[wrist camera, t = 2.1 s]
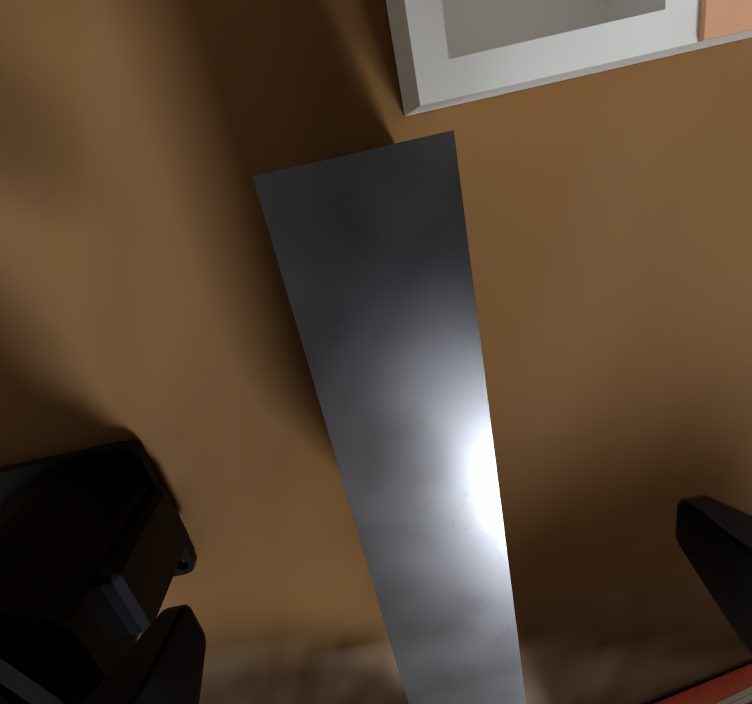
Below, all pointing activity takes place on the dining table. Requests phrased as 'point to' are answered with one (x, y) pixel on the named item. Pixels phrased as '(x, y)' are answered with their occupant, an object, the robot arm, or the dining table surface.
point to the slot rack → (542, 41)
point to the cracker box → (718, 690)
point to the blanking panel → (405, 402)
